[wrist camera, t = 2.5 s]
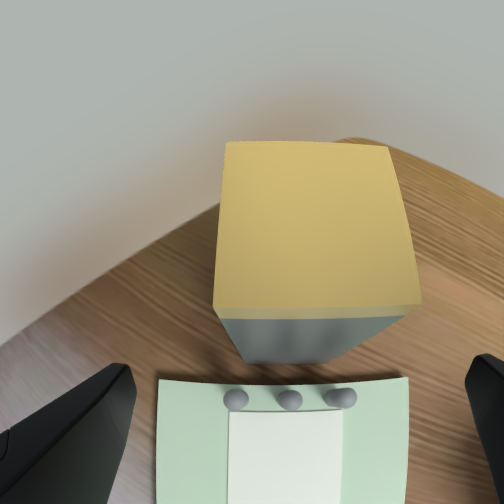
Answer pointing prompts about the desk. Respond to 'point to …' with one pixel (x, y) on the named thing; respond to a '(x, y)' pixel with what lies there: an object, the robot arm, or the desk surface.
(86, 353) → the desk surface
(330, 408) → the board
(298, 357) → the plug block
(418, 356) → the desk surface
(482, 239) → the desk surface
